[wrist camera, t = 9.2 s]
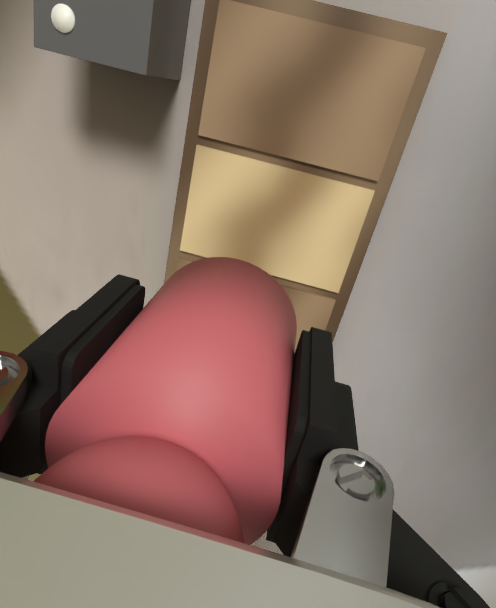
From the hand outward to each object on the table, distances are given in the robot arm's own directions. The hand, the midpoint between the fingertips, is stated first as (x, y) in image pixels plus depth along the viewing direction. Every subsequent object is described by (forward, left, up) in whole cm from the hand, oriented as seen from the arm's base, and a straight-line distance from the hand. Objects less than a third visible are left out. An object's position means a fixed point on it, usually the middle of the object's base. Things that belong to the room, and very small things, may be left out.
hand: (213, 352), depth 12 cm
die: (+9, -8, -15) cm, 19 cm away
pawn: (0, 0, -2) cm, 2 cm away
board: (0, +3, -15) cm, 15 cm away
